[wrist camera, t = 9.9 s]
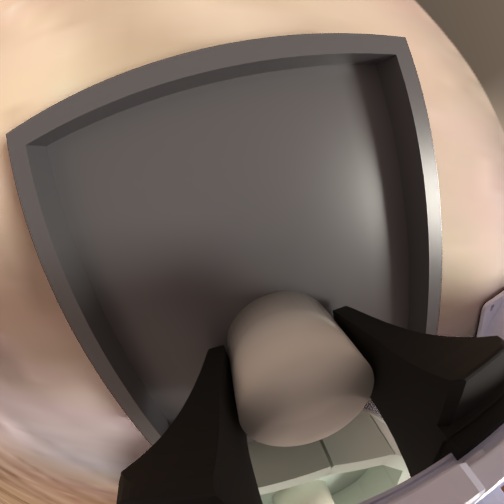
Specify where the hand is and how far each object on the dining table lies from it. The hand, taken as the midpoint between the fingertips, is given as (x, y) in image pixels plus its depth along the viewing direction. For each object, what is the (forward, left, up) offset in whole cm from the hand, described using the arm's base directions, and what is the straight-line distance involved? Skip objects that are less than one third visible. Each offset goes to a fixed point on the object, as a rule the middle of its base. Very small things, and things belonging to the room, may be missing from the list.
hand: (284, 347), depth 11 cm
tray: (0, -3, -2) cm, 4 cm away
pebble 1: (0, 0, -1) cm, 1 cm away
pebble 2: (+2, +16, -1) cm, 17 cm away
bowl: (+2, +14, -2) cm, 14 cm away
